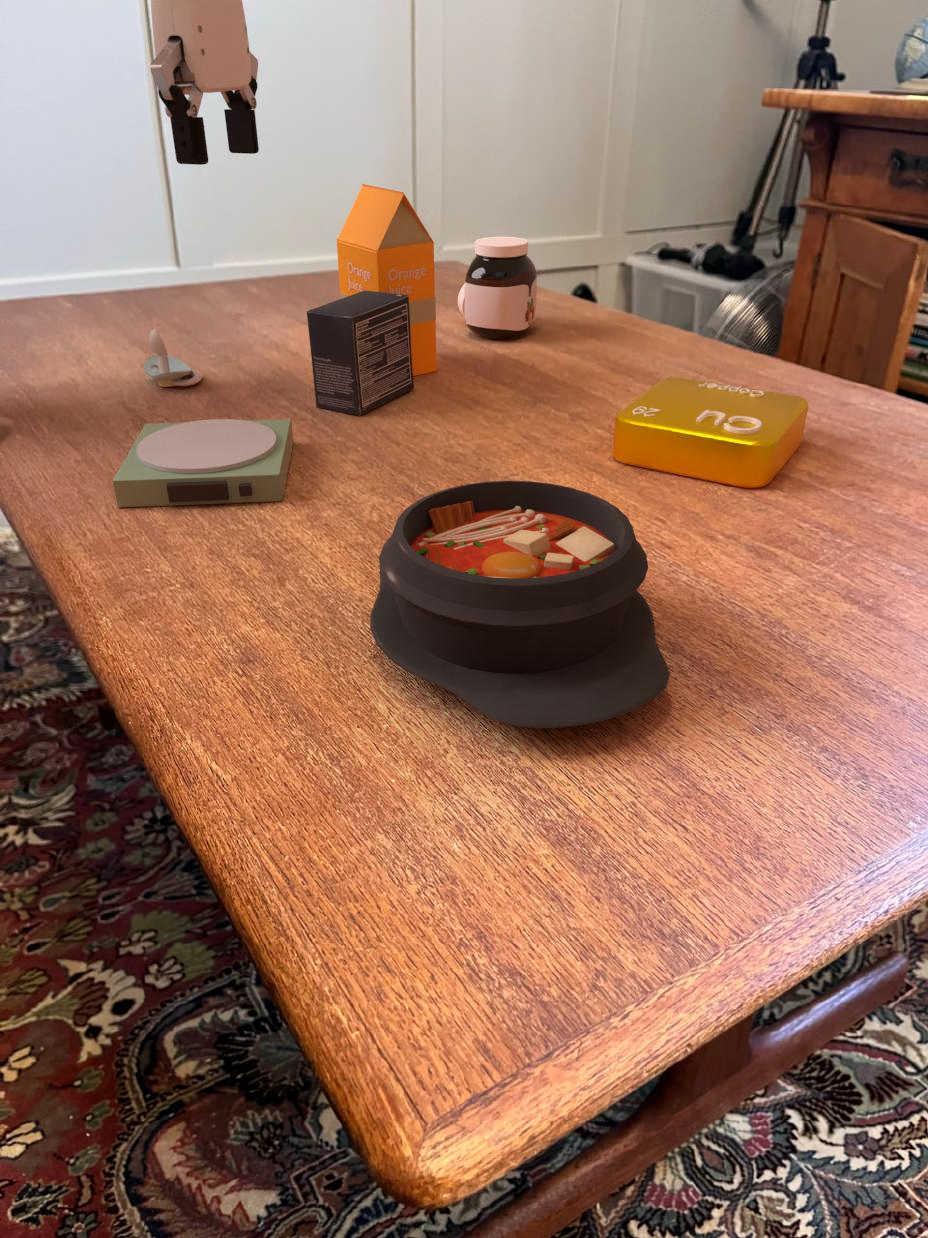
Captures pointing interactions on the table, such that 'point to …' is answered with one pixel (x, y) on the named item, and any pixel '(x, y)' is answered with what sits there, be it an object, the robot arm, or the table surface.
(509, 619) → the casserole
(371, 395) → the small box
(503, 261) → the spread jar
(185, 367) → the pacifier
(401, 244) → the orange juice
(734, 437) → the element tile
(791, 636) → the table surface
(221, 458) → the scale
